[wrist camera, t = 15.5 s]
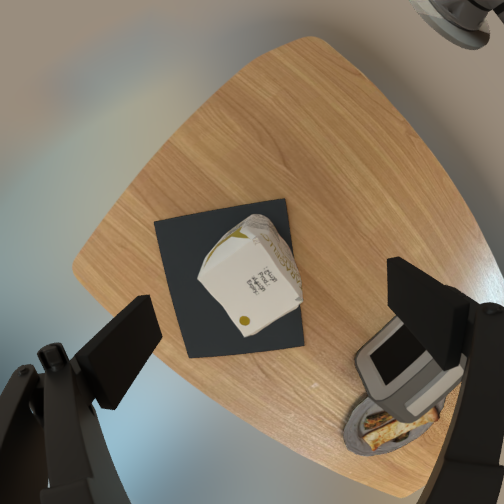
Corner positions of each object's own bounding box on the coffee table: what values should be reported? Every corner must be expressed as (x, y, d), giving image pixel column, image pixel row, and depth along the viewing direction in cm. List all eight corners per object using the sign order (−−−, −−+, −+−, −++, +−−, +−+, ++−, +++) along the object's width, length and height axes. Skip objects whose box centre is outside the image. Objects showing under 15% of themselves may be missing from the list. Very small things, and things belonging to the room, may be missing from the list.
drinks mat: (155, 221, 43) (153, 222, 42) (284, 198, 41) (285, 198, 41) (189, 356, 48) (189, 358, 47) (304, 344, 46) (304, 345, 46)
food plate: (443, 353, 46) (451, 362, 42) (441, 419, 50) (446, 427, 47) (331, 403, 49) (334, 415, 46) (350, 458, 53) (353, 469, 50)
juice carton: (261, 205, 41) (257, 221, 22) (295, 253, 42) (316, 305, 24) (219, 236, 42) (183, 274, 24) (253, 282, 43) (244, 349, 25)
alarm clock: (418, 292, 43) (467, 332, 28) (444, 328, 44) (487, 369, 29) (350, 356, 46) (376, 414, 31) (382, 385, 48) (409, 439, 32)
